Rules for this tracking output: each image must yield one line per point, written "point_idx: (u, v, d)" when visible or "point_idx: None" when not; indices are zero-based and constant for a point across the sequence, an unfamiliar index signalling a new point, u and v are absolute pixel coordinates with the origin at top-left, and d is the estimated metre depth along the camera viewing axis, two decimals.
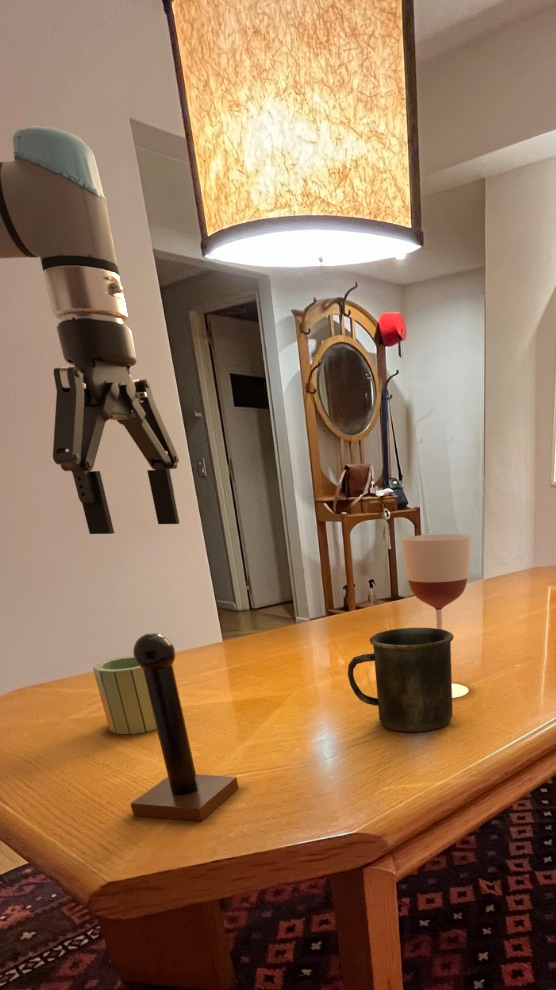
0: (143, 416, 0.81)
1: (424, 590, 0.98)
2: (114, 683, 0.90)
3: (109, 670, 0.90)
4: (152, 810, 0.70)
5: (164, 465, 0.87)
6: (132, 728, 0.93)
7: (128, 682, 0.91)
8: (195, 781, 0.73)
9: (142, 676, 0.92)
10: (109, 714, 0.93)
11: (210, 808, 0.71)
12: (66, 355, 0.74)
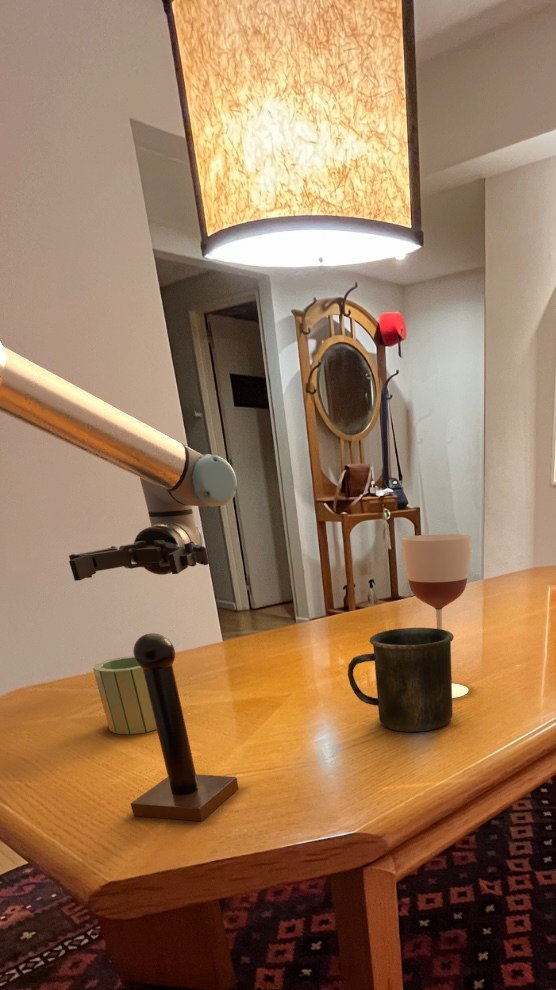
0: None
1: (424, 590, 0.98)
2: (114, 683, 0.90)
3: (109, 670, 0.90)
4: (152, 810, 0.70)
5: None
6: (132, 728, 0.93)
7: (128, 682, 0.91)
8: (195, 781, 0.73)
9: (142, 676, 0.92)
10: (109, 714, 0.93)
11: (210, 808, 0.71)
12: (175, 538, 1.11)
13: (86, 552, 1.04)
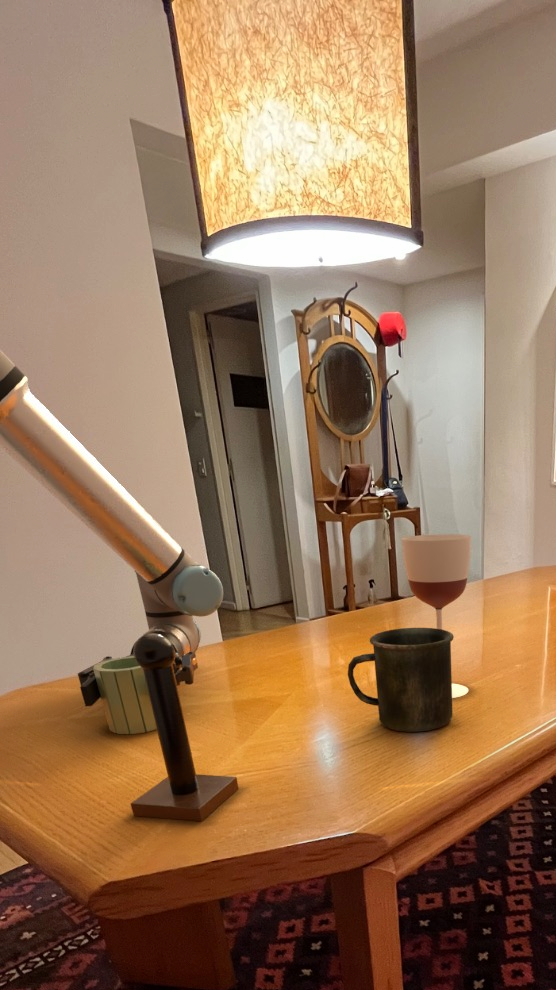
0: None
1: (424, 590, 0.98)
2: (114, 683, 0.90)
3: (109, 670, 0.90)
4: (152, 810, 0.70)
5: None
6: (132, 728, 0.93)
7: (128, 682, 0.91)
8: (195, 781, 0.73)
9: (142, 676, 0.92)
10: (109, 714, 0.93)
11: (210, 808, 0.71)
12: (174, 645, 1.07)
13: (89, 667, 0.99)
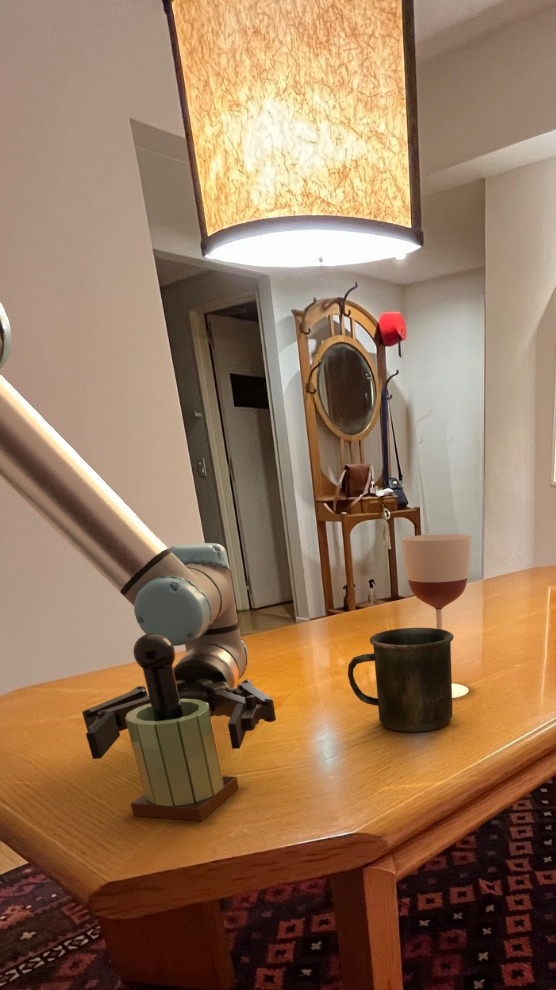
0: None
1: (424, 590, 0.98)
2: (154, 740, 0.66)
3: (148, 723, 0.66)
4: (152, 810, 0.70)
5: None
6: (177, 798, 0.69)
7: (173, 738, 0.67)
8: None
9: (192, 729, 0.68)
10: (146, 779, 0.69)
11: (210, 808, 0.71)
12: (223, 672, 0.83)
13: (105, 702, 0.76)
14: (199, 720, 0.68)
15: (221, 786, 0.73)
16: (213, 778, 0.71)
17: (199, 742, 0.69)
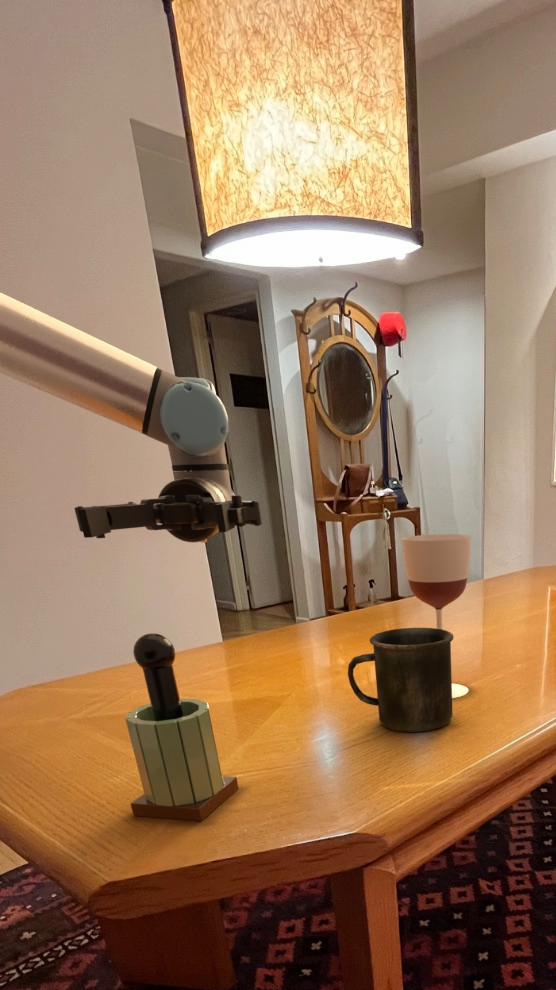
0: None
1: (424, 590, 0.98)
2: (154, 740, 0.66)
3: (148, 723, 0.66)
4: (152, 810, 0.70)
5: None
6: (177, 798, 0.69)
7: (173, 738, 0.67)
8: None
9: (192, 729, 0.68)
10: (146, 779, 0.69)
11: (210, 808, 0.71)
12: (211, 494, 0.86)
13: None
14: (199, 720, 0.68)
15: (221, 786, 0.73)
16: (213, 778, 0.71)
17: (199, 742, 0.69)
